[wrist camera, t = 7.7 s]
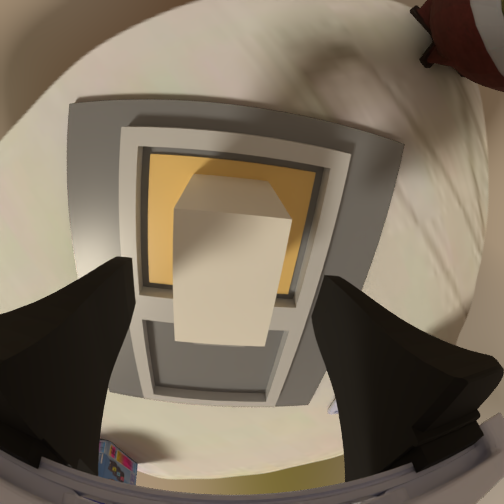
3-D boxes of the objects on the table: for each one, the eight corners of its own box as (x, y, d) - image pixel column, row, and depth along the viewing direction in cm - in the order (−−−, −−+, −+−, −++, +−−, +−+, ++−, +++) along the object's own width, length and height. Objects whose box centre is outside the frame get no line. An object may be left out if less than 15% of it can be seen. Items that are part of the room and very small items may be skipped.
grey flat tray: (400, 143, 15) (413, 146, 14) (307, 401, 26) (310, 412, 25) (73, 103, 12) (60, 103, 11) (111, 388, 23) (107, 399, 22)
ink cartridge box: (140, 464, 34) (134, 536, 21) (113, 461, 34) (104, 529, 21) (110, 439, 29) (96, 525, 16) (81, 435, 29) (65, 514, 16)
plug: (268, 181, 15) (292, 219, 10) (251, 284, 18) (262, 355, 12) (193, 173, 14) (173, 208, 9) (188, 279, 17) (175, 350, 12)
